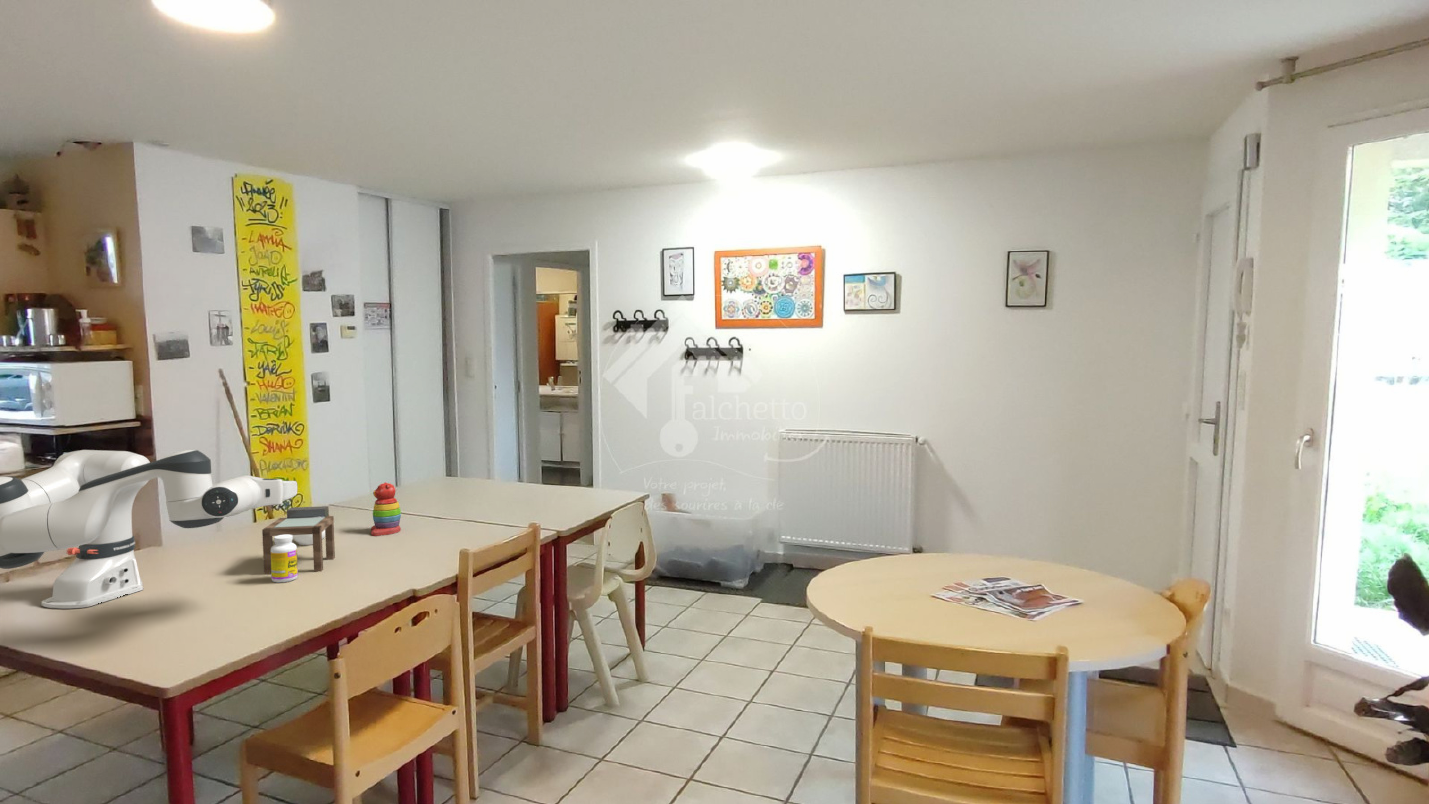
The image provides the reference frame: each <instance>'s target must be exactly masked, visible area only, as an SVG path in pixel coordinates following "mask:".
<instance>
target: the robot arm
mask: <svg viewBox="0 0 1429 804" xmlns="http://www.w3.org/2000/svg"><path fill="white" fill-rule="evenodd" d="M156 478H157V479H158V478H160V479H161V480H162V483H163V490H164V495H165V500H166V502H165V503H166V509H167V513H168V514H167V515H168V519H169V522H171V524H174V525H175V526H177V527H180V528H182V529H197V528H202V527H207V526H210V525H214V524H217V523H219V522H221V521H222V520H223V519H225V518H230V517H233V516H238V515H240V514H242V513H245V512H247V511H250V510H255V509H258V508H262V507H267V506H268V507H269V506H276V505H282V504H283V501H286V500H289V499H292V498H294V497H295V496H297V494H298V483H297V481H296V480H283V479H281V478H264V477H263V478H262V477H258V476H252V475H248V474H247V475H245V474H244V475H240V476H237V477H233V478H231V479H226V480H222V481H220V482H218V483H213V481H212V480H213V479H212V478H213V477H212V462H211V459H210V458H209V457H208V456H207V455H206V454H204V453H203V452H201V451H200V450H198V449H196V450H194V449H185V450H184V449H183V450H179V451H177V452H173V453H171V454H169V455H166V456H164V457H163V458H160V459H158V460H155V461H154V460H153V461H152V462H150V460H149V459H148V458H147V457H146V456H144V455H142V454H138V453H135V452H132V451H126V450H100V449H99V450H97V449H96V450H95V449H81V450H73V451H70V452H66V453H64V454H61V455H60V456H58V458H57V459H56V460H55V461H54V463H53V465H52V466H50V467H49V468H48V469H45V470H42V471H40V472H37V473H35V474H31V475H29V476H26V477H24V478H21V479H19V478H17V477H14V476H9V475H7V476H0V569H1V570H2V569H3V570H9V569H16V568H22V567H24V566H27V565H30V564H32V563H34V562H36V561H38V560H40V559H41V558H42V556H43V555H44V554H45V553H46V552H53V551H59V550H65V549H66V554H67V555H68V556H69V555H70V556H72V555H73V556H75V559H74V560H73V562H71V563H70V565H68V566H67V567H66V569H64V570H63V572H61V573H60V574H59V576H57V577H56V578H55V579H54V583H53V585H52V596H50V597H48V598H45V599H43V600H41V604H40V605H41V606H42V607H45V608H50V609H81V608H89V607H91V606H92V607H93V606H95V605H98V603H99V604H101V602H102V603H106V602H109V601H112V600H115V599H118V598H121V597H124V596H123V595H125V594H128V595H130V594H133V593H137V592H139V591H143V590H144V586H143V584H144V582H143V581H142V578H141V576H140V573H139V567H138V563H137V559H136V557H135V556H136V555H135V551H134V550H135V549H136V540H135V536H134V534H133V517H132V516H133V514H132V512H133V506H134V502H135V499H136V497H137V496H138V495H137V494H138V493H139V491H140V490H141V489H142V488H144V487H145V486H146V485H147V484H148V483H149V481H151V480H153V479H156ZM120 596H121V597H120ZM125 596H126V595H125ZM117 597H118V598H117Z"/></svg>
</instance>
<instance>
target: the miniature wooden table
mask: <svg viewBox="0 0 1429 804" xmlns="http://www.w3.org/2000/svg"><path fill="white" fill-rule="evenodd" d="M286 518H287V517H279V518H278V519H277V520H275V521H274V522H272V523H270V524H269V525H267V526H266V527H264V528H262V530H261V531H262V532H261V534H262V552H263V553H262V555H263V572H264V573H263V574H264V575H271V547H272V546H274V543H273V542H274V537H275V536H278V535H284V534H290V535H307V534H313V545H312V552H313V553H312V554H313V555H312V556H313V573H317V572H318V571H320V572H322V571H323V570H324V557H323V556H324V555H323V540H322V532H323V531H324V530H325V538H324V539H325V558H326V559H325V560H327V561H328V560H334V559H335V558H336V554H335V553H336V551H335V549H336V548H335V527H334V526H335V525H334V522H335V520H334V518H335V517H334V515H330V516H326V517H325V518H324V519H323V520H321V521H320V522H319V523H318V524H316V525H315V526H303V527H279V528H274V527H275V526H277V525H278V524H279V523H281V522H282V521H284V520H285V519H286ZM318 573H319V572H318Z"/></svg>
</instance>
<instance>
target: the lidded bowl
mask: <svg viewBox="0 0 1429 804" xmlns="http://www.w3.org/2000/svg"><path fill="white" fill-rule="evenodd" d="M329 516H331V515H330V514H329ZM292 536H293V540H292V541H294V542H296V543H297V545H299V546H313V534H307V535H292ZM325 539H326V538H325V530H324V531H323V532H322V541H323V540H325Z"/></svg>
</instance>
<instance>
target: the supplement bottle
mask: <svg viewBox="0 0 1429 804" xmlns="http://www.w3.org/2000/svg"><path fill="white" fill-rule="evenodd" d="M293 541H294V540H293V536H292V535H290V534H284V535H278V536H273V542H274V544H273V546H272V547H271V574H270V575H271V581H272V582H274V583H279V584H280V583H287V582H293V581H294V580H297V579H298V575H299V571H298V569H299V568H298V548H297V545H296V543H294V542H293Z"/></svg>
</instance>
